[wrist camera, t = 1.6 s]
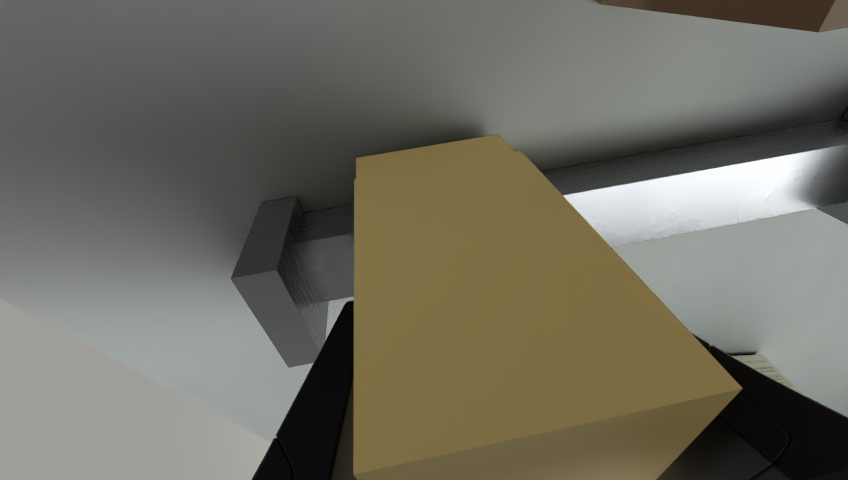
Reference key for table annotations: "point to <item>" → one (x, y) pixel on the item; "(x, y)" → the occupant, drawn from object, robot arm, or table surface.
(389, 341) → the block
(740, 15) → the brown wooden box
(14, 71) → the table surface
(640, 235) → the rail
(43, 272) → the table surface
